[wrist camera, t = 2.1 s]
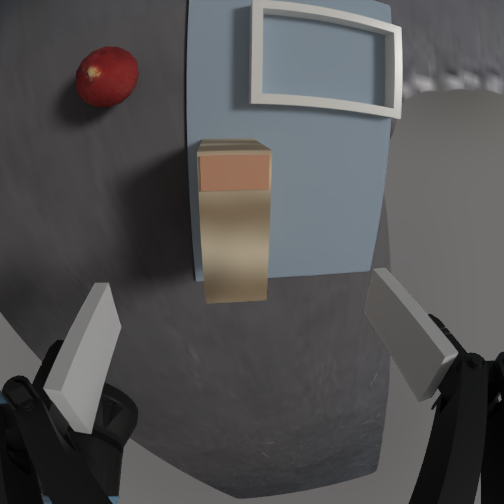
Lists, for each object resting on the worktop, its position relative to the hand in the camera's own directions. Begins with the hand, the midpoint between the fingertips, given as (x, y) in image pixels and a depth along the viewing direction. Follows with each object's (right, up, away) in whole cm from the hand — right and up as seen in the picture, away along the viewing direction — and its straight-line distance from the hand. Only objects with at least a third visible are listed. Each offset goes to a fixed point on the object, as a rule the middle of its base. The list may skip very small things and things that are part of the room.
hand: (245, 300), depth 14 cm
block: (-2, +8, +16) cm, 18 cm away
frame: (+8, +22, +11) cm, 26 cm away
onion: (-13, +19, +10) cm, 25 cm away
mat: (+5, +15, +14) cm, 21 cm away
